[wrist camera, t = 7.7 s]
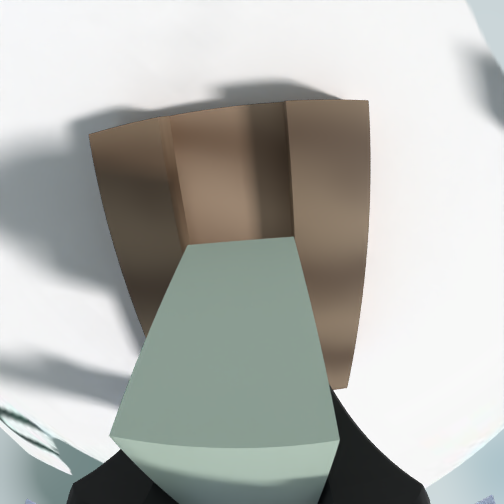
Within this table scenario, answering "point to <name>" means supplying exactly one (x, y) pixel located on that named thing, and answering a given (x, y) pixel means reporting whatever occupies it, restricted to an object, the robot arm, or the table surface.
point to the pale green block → (232, 382)
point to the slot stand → (246, 200)
